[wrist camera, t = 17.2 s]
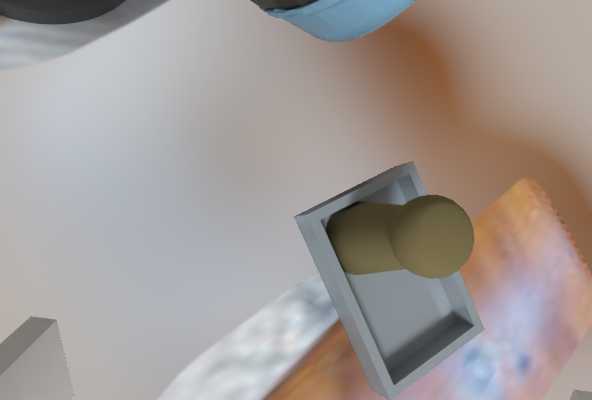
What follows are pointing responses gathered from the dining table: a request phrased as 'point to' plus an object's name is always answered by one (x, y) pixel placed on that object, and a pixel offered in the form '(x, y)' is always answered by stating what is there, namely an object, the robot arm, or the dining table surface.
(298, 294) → the dining table surface
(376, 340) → the trough
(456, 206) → the cork
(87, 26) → the dining table surface
